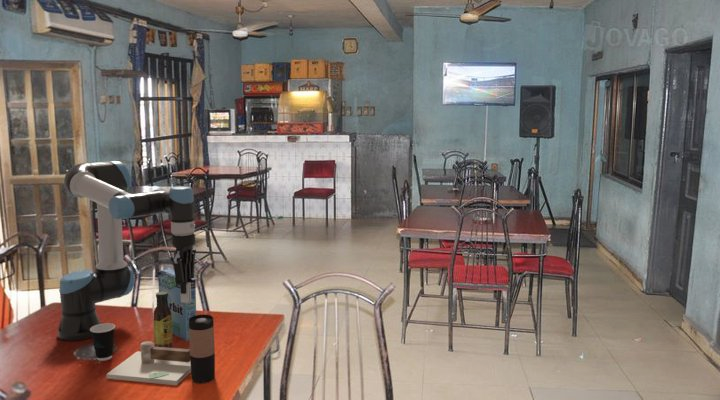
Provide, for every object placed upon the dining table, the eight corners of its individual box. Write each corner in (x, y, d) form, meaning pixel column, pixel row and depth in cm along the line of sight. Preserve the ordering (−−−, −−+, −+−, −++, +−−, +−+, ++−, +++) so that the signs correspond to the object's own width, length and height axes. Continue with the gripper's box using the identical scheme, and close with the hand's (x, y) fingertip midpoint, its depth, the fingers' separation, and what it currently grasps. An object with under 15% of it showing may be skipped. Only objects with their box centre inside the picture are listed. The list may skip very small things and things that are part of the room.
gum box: (159, 327, 231) (157, 271, 227) (171, 324, 234) (169, 268, 231) (186, 341, 218) (183, 281, 214) (198, 337, 221) (196, 278, 218)
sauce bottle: (167, 350, 209) (164, 296, 206) (151, 349, 211) (148, 295, 207) (176, 343, 216) (174, 291, 213) (160, 342, 217) (158, 289, 214)
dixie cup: (116, 351, 208) (114, 321, 207) (117, 360, 201) (115, 329, 200) (91, 355, 205) (89, 325, 203) (92, 364, 198) (90, 333, 196)
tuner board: (105, 379, 187) (105, 374, 187) (137, 355, 205) (137, 350, 205) (176, 386, 183) (175, 380, 183) (202, 361, 201) (202, 356, 201)
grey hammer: (139, 362, 195) (138, 345, 194) (145, 357, 199) (144, 340, 198) (187, 367, 192) (186, 349, 191) (192, 361, 196) (191, 344, 195)
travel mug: (193, 373, 192) (191, 314, 189) (217, 372, 192) (215, 313, 189) (188, 384, 184) (186, 323, 181) (213, 383, 185) (211, 322, 182)
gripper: (184, 238, 189) (187, 309, 193) (202, 229, 202) (205, 295, 206) (162, 237, 190) (165, 307, 194) (182, 228, 203) (185, 294, 207)
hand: (186, 301), depth 200 cm, fingers closed
